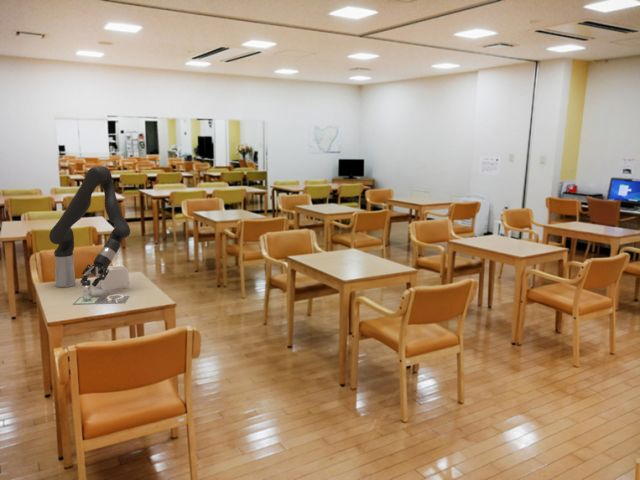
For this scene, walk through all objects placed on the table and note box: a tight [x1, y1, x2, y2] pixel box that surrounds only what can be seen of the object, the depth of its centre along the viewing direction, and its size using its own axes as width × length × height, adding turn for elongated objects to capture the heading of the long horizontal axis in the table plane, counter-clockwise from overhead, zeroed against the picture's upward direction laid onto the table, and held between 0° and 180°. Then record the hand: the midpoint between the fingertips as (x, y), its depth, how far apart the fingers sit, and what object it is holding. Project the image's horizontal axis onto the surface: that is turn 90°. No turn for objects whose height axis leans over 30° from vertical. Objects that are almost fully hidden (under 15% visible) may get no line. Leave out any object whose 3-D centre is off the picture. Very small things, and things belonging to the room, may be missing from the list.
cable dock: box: [71, 294, 131, 306], centre depth 270 cm, size 25×12×3 cm, turn 97°
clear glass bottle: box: [80, 279, 93, 302], centre depth 269 cm, size 4×4×10 cm
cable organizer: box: [97, 264, 130, 291], centre depth 294 cm, size 15×11×12 cm
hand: (87, 284), depth 269 cm, fingers open, 8 cm apart
